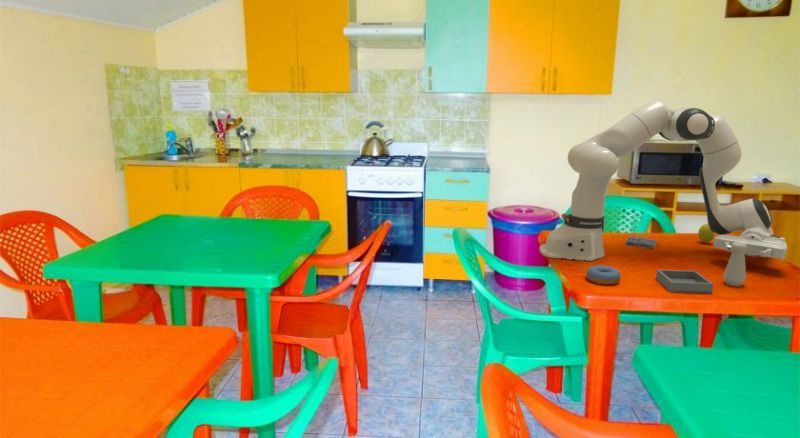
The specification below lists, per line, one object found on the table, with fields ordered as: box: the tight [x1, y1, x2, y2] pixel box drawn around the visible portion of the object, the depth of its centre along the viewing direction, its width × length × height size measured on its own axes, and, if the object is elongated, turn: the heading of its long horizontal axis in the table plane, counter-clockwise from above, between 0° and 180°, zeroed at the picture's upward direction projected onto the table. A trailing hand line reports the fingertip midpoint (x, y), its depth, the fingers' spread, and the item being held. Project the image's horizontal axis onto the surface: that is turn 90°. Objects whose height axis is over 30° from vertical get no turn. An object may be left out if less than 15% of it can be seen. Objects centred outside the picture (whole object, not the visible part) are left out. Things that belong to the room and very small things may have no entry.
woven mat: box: [624, 235, 657, 250], centre depth 207 cm, size 10×11×2 cm
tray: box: [655, 269, 714, 295], centre depth 162 cm, size 12×12×3 cm
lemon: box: [697, 222, 716, 244], centre depth 207 cm, size 6×6×8 cm
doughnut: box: [586, 265, 622, 285], centre depth 167 cm, size 10×10×5 cm
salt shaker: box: [723, 242, 748, 288], centre depth 163 cm, size 6×6×13 cm
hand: (745, 251), depth 171 cm, fingers open, 8 cm apart
